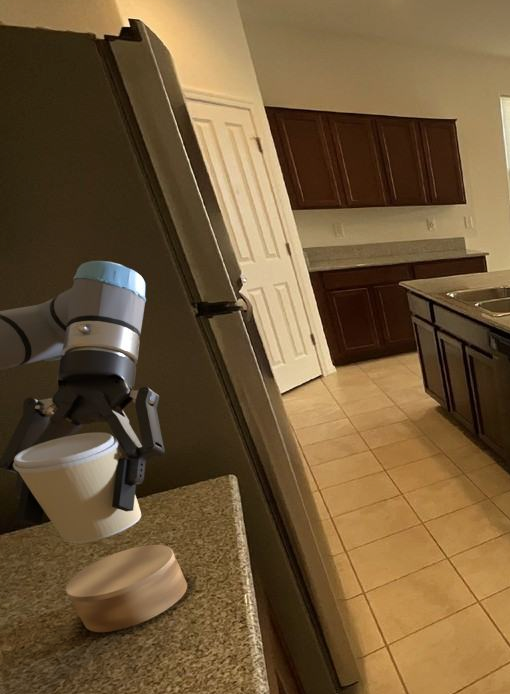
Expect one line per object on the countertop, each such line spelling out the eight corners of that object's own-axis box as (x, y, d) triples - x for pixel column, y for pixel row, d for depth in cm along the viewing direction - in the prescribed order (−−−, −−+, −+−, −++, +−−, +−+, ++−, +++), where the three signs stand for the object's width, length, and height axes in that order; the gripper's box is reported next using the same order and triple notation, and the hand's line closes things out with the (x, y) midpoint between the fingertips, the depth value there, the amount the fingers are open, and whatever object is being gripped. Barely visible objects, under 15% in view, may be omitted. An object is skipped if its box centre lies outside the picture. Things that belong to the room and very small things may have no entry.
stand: (64, 641, 68) (43, 605, 66) (113, 586, 78) (96, 553, 75) (165, 620, 71) (148, 586, 69) (200, 570, 81) (187, 538, 78)
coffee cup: (134, 500, 76) (100, 426, 72) (161, 518, 72) (127, 440, 67) (44, 533, 69) (0, 452, 64) (68, 556, 64) (22, 470, 60)
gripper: (-24, 355, 67) (-67, 525, 60) (175, 340, 74) (160, 492, 66) (25, 381, 74) (-7, 537, 66) (204, 365, 80) (194, 507, 72)
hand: (76, 515), depth 66 cm, fingers closed on coffee cup, 9 cm apart
